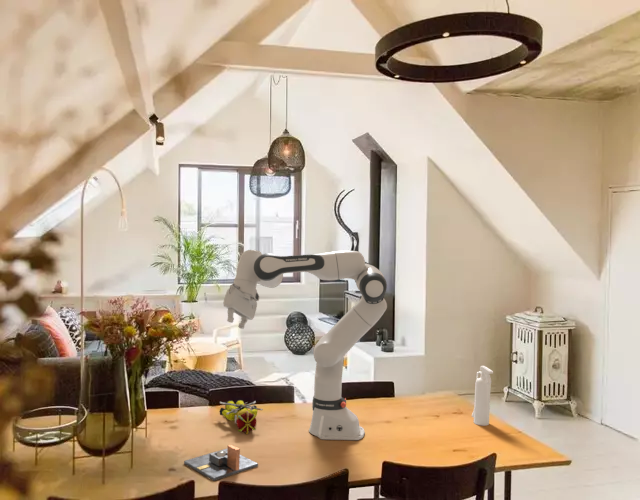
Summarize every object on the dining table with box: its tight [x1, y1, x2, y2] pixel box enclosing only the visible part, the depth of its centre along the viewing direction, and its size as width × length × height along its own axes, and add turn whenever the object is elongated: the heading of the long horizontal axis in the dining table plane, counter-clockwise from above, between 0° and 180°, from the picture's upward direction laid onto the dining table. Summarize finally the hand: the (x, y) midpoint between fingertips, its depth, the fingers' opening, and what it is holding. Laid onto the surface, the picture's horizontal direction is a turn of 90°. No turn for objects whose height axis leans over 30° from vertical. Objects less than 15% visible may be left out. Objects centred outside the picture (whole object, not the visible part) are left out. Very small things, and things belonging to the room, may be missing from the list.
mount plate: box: [183, 448, 259, 482], centre depth 202 cm, size 18×18×4 cm
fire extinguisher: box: [471, 365, 494, 427], centre depth 255 cm, size 7×12×25 cm, turn 16°
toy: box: [219, 399, 264, 435], centre depth 245 cm, size 16×9×30 cm
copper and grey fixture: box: [208, 444, 241, 471], centre depth 200 cm, size 12×6×7 cm, turn 44°
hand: (235, 325), depth 222 cm, fingers open, 8 cm apart
